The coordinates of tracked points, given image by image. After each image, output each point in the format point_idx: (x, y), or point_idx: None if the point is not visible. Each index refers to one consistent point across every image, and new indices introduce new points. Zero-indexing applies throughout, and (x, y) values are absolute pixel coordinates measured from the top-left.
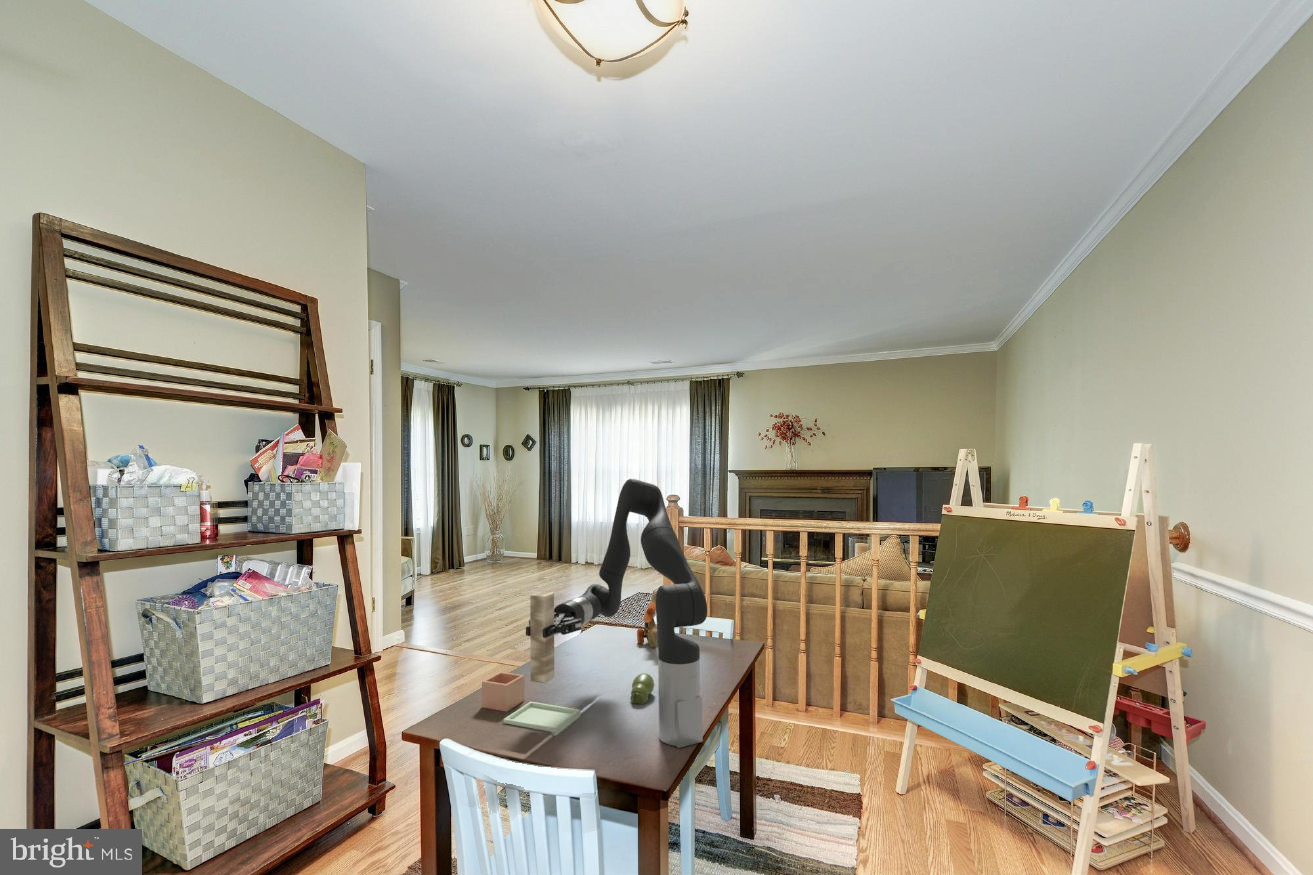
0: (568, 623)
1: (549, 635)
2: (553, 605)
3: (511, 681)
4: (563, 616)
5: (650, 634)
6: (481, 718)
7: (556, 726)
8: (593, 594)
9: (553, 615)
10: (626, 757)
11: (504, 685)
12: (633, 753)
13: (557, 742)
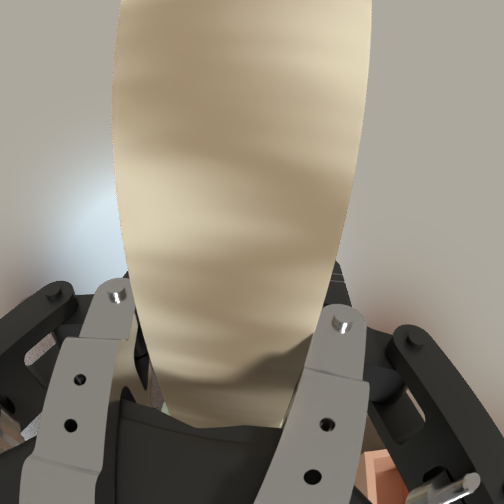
0: (21, 304)
1: None
2: (118, 113)
3: (373, 480)
4: (34, 449)
5: None
6: (372, 438)
7: (165, 410)
8: None
9: (127, 231)
10: (47, 344)
11: (371, 451)
12: (37, 353)
13: (155, 385)
